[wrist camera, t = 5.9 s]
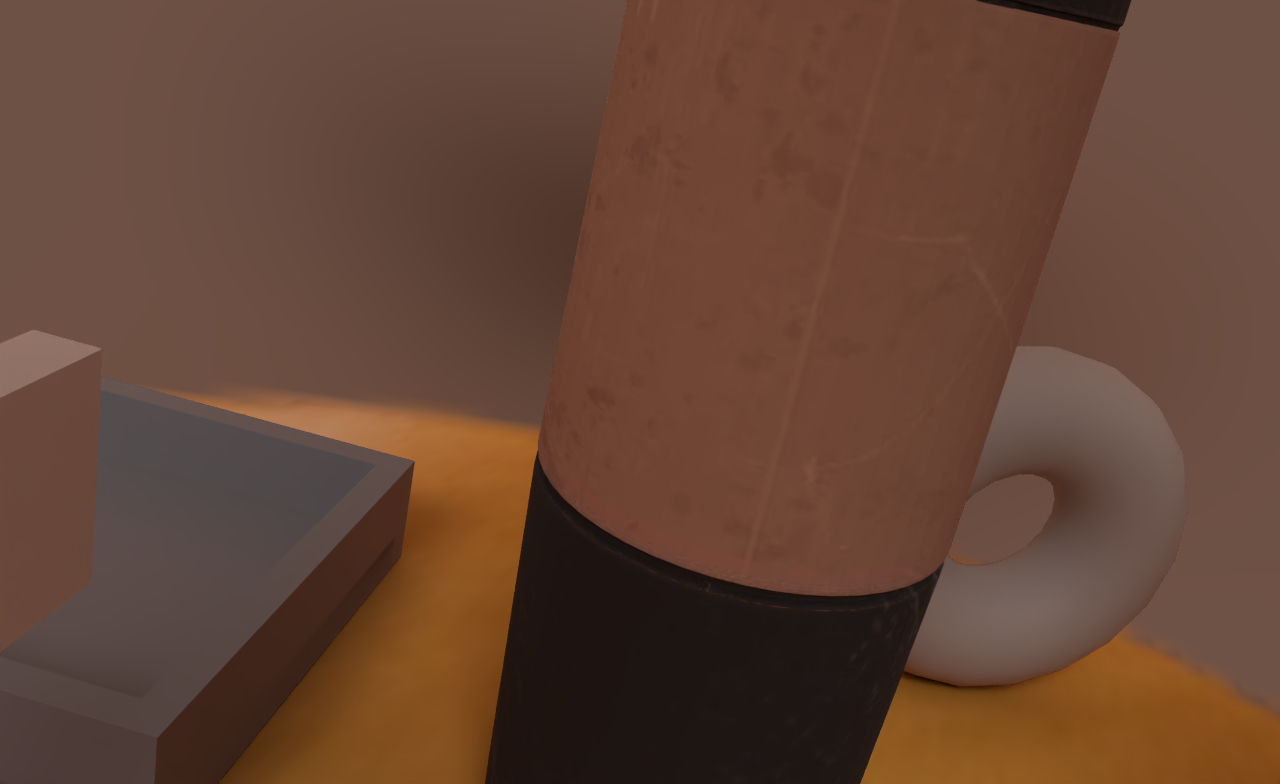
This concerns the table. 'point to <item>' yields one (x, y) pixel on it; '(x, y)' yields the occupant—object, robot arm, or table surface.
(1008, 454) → the donut
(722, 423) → the travel mug
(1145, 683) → the table surface
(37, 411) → the robot arm
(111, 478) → the tray
